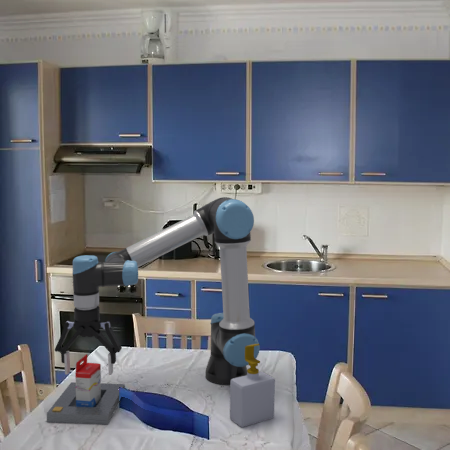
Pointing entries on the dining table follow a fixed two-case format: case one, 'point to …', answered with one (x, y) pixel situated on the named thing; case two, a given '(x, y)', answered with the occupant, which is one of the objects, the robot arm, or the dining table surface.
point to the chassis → (98, 414)
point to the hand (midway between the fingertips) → (89, 373)
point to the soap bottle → (252, 394)
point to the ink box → (87, 383)
